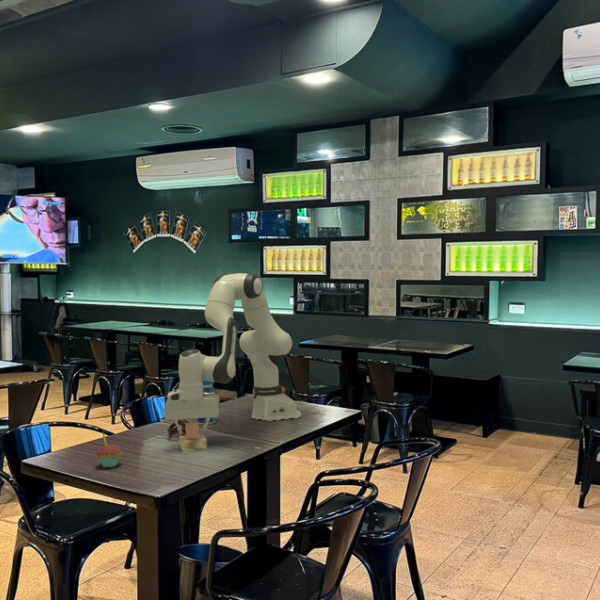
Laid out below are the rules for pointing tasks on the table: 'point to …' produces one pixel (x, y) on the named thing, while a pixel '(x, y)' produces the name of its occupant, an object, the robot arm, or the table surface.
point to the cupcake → (109, 454)
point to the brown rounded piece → (176, 428)
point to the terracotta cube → (192, 431)
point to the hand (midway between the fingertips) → (192, 429)
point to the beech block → (192, 443)
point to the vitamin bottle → (206, 389)
